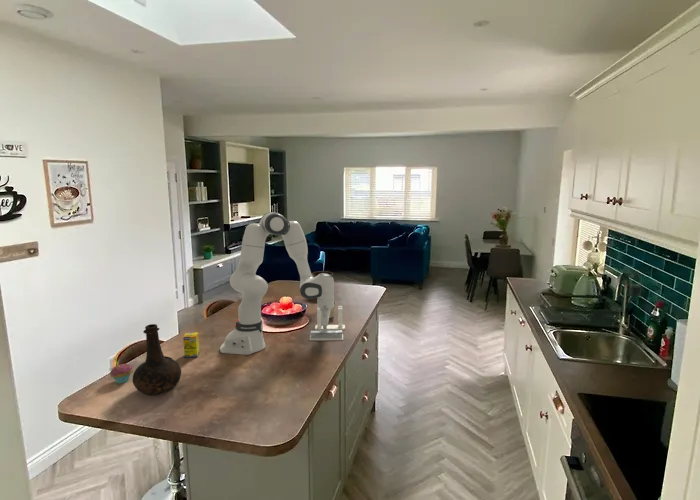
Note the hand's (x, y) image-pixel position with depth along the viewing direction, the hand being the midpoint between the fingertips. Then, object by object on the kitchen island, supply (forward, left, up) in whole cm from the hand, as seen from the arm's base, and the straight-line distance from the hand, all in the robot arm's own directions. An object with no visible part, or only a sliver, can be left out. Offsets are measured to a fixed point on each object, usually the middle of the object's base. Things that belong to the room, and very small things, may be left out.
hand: (325, 328), depth 223 cm
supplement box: (-65, -20, -6) cm, 68 cm away
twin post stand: (+2, +15, -6) cm, 16 cm away
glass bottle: (-67, -53, -6) cm, 85 cm away
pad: (0, +1, -6) cm, 6 cm away
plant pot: (-6, +83, -6) cm, 83 cm away
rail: (0, +1, -5) cm, 5 cm away
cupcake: (-86, -45, -6) cm, 97 cm away
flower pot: (0, +35, -6) cm, 35 cm away
